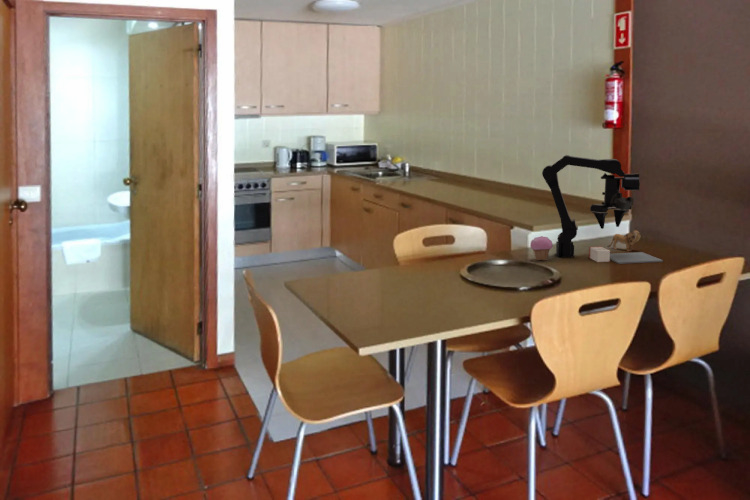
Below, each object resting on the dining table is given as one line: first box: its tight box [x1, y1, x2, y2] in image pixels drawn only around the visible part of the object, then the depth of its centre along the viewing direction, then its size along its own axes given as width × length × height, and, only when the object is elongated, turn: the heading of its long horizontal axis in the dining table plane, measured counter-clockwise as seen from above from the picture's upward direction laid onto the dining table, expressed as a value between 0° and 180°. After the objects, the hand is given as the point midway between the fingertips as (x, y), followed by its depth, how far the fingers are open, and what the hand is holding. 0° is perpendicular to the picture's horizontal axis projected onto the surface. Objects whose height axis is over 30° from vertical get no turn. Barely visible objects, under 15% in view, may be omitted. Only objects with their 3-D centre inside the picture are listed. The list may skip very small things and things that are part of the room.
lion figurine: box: [607, 230, 641, 252], centre depth 293 cm, size 15×5×9 cm, turn 44°
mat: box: [610, 251, 664, 265], centre depth 274 cm, size 18×18×1 cm
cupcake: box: [529, 235, 553, 261], centre depth 276 cm, size 9×9×10 cm
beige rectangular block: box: [588, 246, 611, 263], centre depth 274 cm, size 5×9×5 cm, turn 4°
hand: (609, 227), depth 276 cm, fingers open, 9 cm apart
